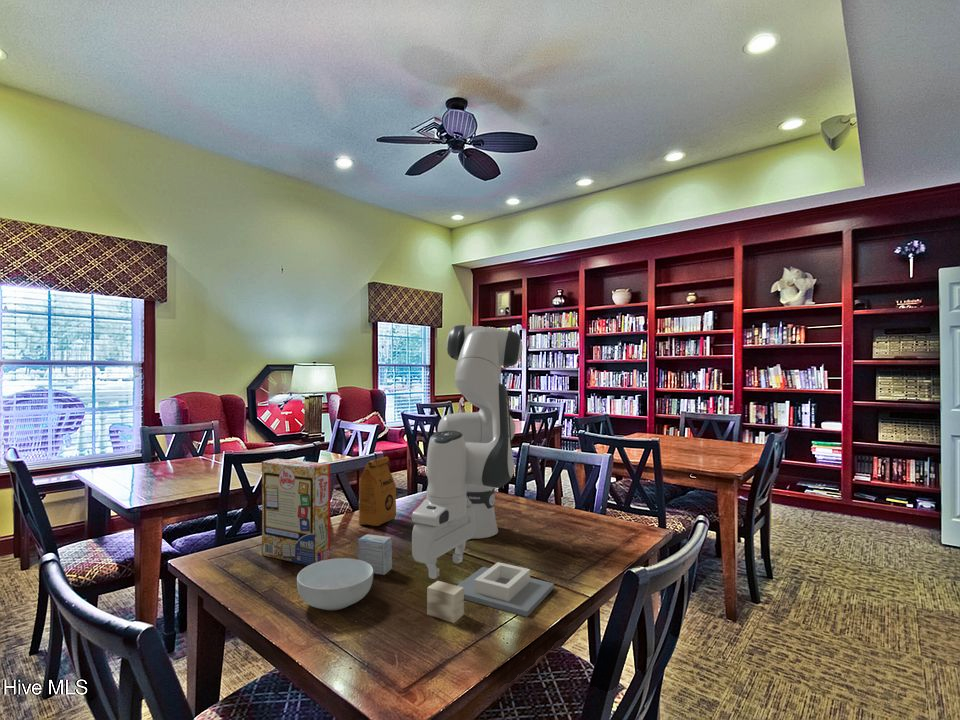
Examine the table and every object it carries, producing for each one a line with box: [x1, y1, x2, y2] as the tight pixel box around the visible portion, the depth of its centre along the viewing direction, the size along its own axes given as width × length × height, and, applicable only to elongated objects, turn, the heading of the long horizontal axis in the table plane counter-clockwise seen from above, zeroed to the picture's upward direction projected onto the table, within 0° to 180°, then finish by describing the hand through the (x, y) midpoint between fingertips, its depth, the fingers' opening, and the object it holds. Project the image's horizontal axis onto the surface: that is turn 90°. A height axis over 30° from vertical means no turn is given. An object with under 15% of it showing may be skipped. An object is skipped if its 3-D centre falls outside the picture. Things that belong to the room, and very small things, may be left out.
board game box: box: [261, 458, 331, 566], centre depth 141 cm, size 20×6×27 cm, turn 65°
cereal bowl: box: [296, 557, 374, 611], centre depth 116 cm, size 17×17×7 cm
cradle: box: [456, 561, 555, 618], centre depth 121 cm, size 20×16×4 cm
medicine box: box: [357, 533, 393, 576], centre depth 133 cm, size 8×4×9 cm, turn 71°
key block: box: [426, 580, 465, 624], centre depth 110 cm, size 7×4×6 cm, turn 60°
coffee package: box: [358, 456, 397, 527], centre depth 173 cm, size 10×12×22 cm
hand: (446, 569), depth 110 cm, fingers open, 8 cm apart
